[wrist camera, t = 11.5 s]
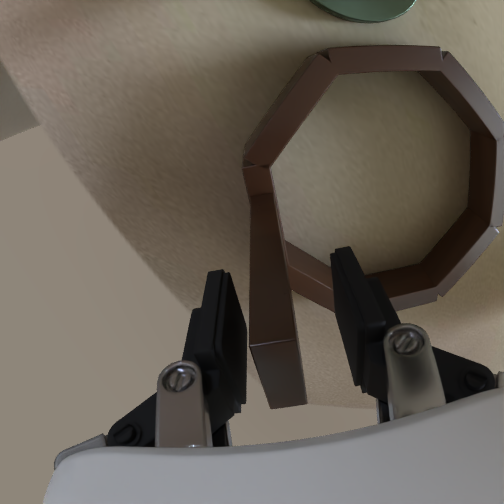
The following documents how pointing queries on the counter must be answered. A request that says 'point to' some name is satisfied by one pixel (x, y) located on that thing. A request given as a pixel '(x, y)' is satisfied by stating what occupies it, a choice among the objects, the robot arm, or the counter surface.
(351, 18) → the post
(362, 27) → the counter surface
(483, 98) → the ring
